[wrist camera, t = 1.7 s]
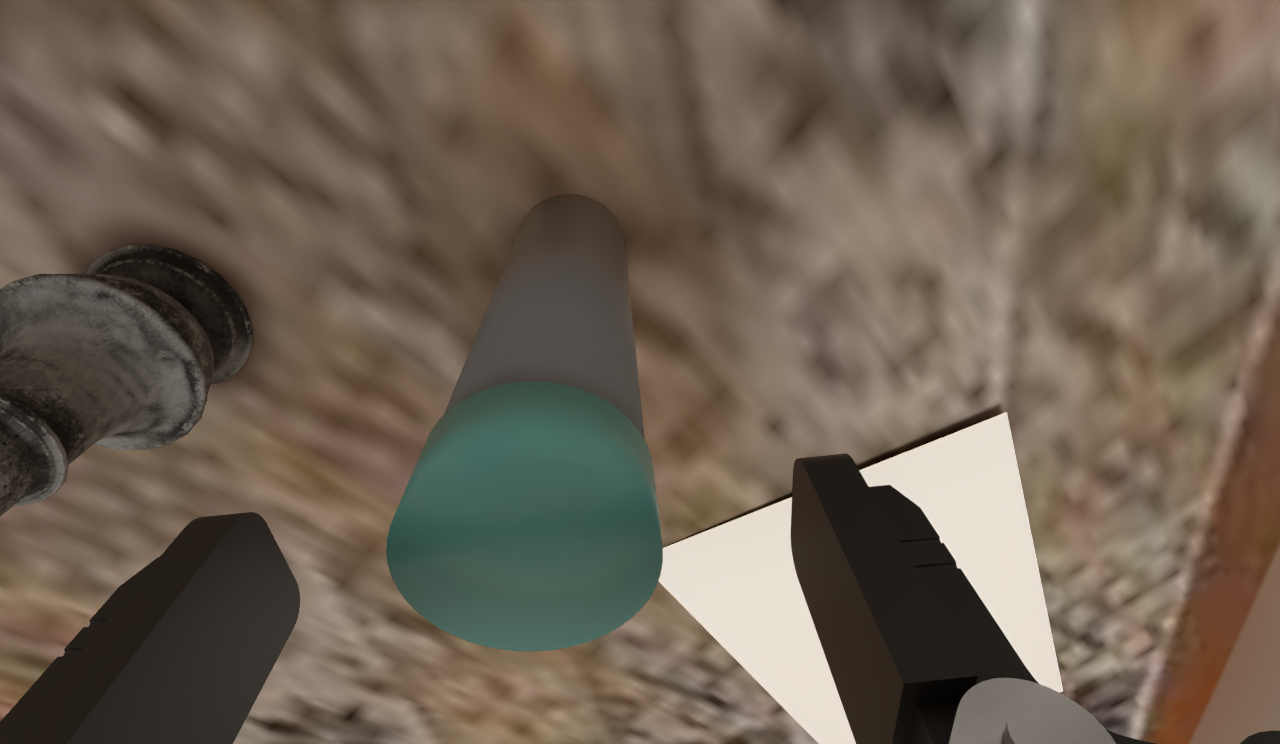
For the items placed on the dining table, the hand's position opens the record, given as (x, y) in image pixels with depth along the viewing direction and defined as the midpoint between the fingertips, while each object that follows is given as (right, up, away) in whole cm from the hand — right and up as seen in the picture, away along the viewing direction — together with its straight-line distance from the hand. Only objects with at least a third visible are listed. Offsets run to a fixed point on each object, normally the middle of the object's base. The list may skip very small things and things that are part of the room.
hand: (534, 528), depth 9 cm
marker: (-1, +6, +11) cm, 13 cm away
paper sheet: (+8, -12, +23) cm, 28 cm away
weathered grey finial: (-15, +4, +12) cm, 19 cm away
